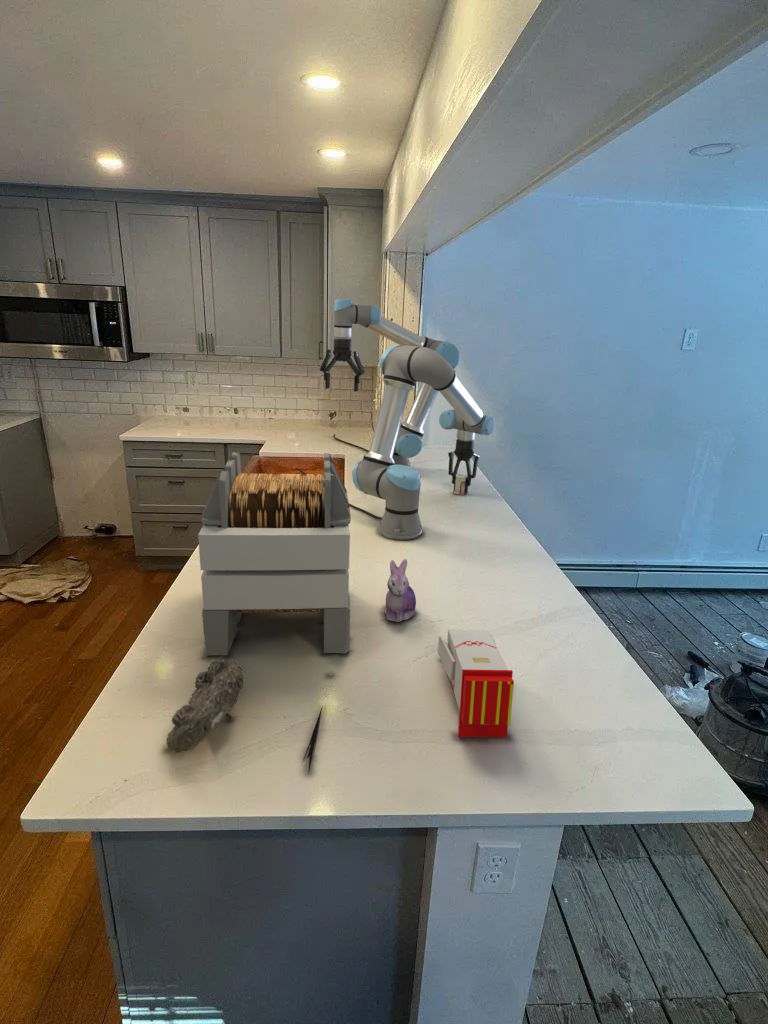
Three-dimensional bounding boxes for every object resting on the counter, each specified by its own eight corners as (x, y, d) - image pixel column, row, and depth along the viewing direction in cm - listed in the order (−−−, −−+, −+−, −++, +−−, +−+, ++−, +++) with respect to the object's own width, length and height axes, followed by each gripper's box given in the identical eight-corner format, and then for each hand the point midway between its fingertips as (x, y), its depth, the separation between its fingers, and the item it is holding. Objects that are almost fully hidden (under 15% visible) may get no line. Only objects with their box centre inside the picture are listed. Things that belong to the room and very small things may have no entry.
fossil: (192, 660, 117) (244, 628, 112) (224, 691, 120) (276, 661, 115) (142, 746, 98) (202, 712, 93) (182, 779, 101) (242, 748, 96)
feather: (331, 679, 122) (336, 673, 122) (307, 777, 96) (313, 769, 95) (324, 675, 122) (329, 669, 121) (298, 772, 95) (304, 764, 95)
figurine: (392, 627, 141) (395, 572, 136) (374, 608, 149) (376, 556, 144) (425, 619, 145) (429, 566, 140) (405, 601, 154) (408, 550, 149)
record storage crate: (226, 586, 157) (217, 442, 143) (344, 585, 161) (346, 445, 147) (202, 658, 125) (189, 482, 112) (350, 654, 129) (354, 483, 115)
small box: (463, 495, 245) (465, 478, 242) (454, 493, 246) (455, 476, 244) (466, 492, 249) (468, 475, 247) (457, 490, 251) (458, 473, 248)
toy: (488, 613, 130) (523, 677, 101) (484, 667, 133) (517, 744, 104) (435, 612, 130) (455, 676, 101) (432, 666, 133) (451, 743, 103)
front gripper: (487, 440, 240) (481, 492, 248) (447, 435, 246) (443, 486, 254) (483, 443, 233) (478, 497, 241) (443, 438, 239) (438, 491, 247)
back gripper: (373, 339, 237) (371, 391, 244) (320, 336, 245) (320, 386, 252) (366, 340, 230) (364, 393, 237) (312, 336, 238) (312, 388, 246)
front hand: (460, 491), depth 247 cm, fingers closed on small box, 4 cm apart
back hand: (341, 389), depth 245 cm, fingers open, 13 cm apart
